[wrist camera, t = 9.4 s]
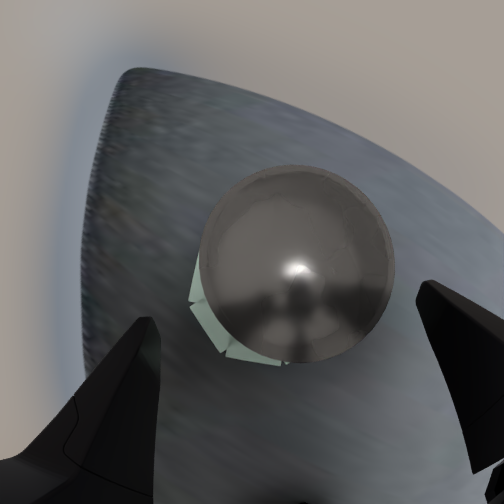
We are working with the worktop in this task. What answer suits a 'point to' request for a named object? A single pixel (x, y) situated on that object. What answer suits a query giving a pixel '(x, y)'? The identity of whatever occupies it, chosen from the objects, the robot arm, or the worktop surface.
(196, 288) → the collar ring
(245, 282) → the glass jar
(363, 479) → the worktop surface
